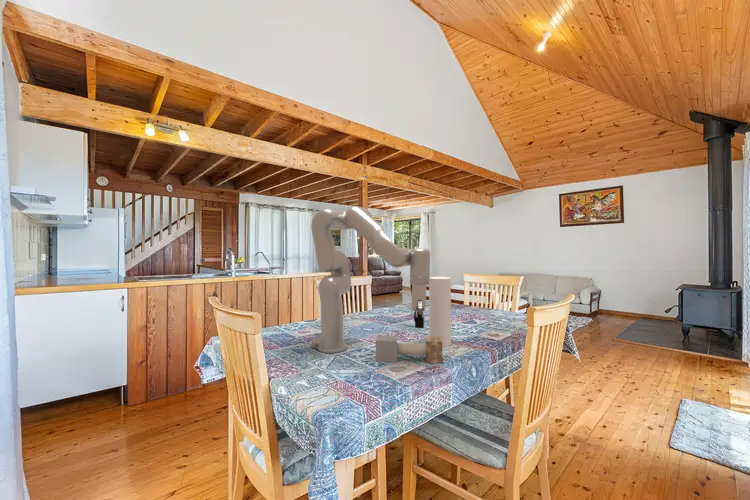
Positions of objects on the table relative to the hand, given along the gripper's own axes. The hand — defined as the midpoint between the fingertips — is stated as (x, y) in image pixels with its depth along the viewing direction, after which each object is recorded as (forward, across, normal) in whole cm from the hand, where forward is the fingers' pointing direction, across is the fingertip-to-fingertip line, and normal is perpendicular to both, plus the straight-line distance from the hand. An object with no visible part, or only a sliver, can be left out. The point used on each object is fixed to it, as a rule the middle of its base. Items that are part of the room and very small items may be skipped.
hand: (418, 324), depth 126 cm
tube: (+12, 0, -2) cm, 12 cm away
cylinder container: (+14, -21, +11) cm, 27 cm away
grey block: (+14, 0, -12) cm, 18 cm away
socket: (+13, 0, +6) cm, 15 cm away
